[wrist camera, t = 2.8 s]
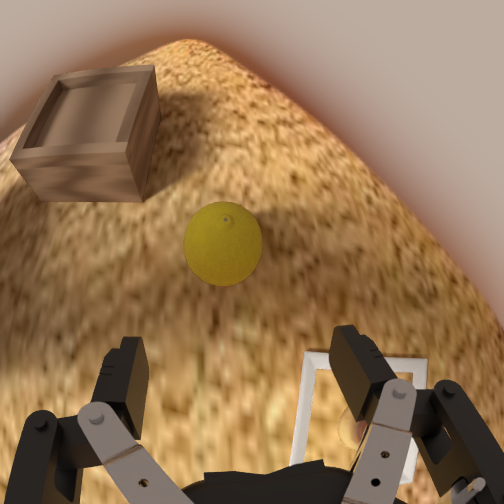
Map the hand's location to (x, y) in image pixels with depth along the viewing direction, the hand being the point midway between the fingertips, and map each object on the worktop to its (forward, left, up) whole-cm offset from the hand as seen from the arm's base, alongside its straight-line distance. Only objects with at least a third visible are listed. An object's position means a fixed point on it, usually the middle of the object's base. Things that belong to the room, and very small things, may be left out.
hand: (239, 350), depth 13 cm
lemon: (-1, +8, -12) cm, 14 cm away
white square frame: (+11, -6, -13) cm, 18 cm away
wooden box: (-14, +19, -12) cm, 26 cm away
